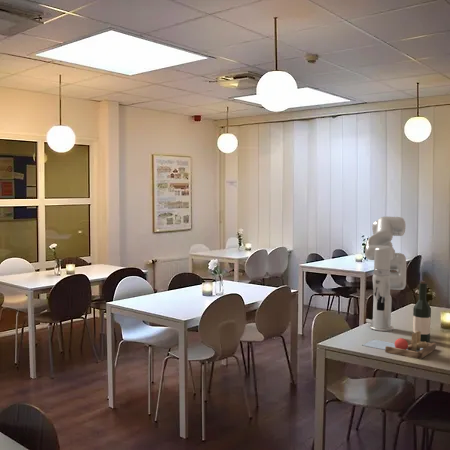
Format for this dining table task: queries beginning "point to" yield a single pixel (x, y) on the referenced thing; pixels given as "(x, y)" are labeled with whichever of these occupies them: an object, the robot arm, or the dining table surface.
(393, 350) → the wooden tray
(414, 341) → the pin
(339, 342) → the dining table surface
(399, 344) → the ball
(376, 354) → the dining table surface
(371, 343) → the lane strip
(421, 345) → the front pin
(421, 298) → the wine bottle
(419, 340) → the pin
